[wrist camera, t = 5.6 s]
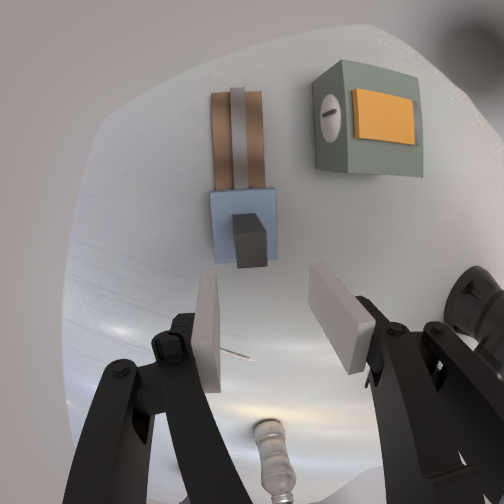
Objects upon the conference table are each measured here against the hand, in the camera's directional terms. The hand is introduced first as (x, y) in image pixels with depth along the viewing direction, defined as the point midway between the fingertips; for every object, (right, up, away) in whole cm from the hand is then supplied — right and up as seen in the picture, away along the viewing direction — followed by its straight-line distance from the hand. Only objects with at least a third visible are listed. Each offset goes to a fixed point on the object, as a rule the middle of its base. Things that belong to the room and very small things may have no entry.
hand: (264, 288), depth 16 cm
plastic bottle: (+3, -35, +34) cm, 49 cm away
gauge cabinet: (+12, +19, +17) cm, 28 cm away
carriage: (-2, +6, +18) cm, 19 cm away
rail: (-2, +12, +18) cm, 22 cm away
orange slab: (+13, +16, +7) cm, 22 cm away
